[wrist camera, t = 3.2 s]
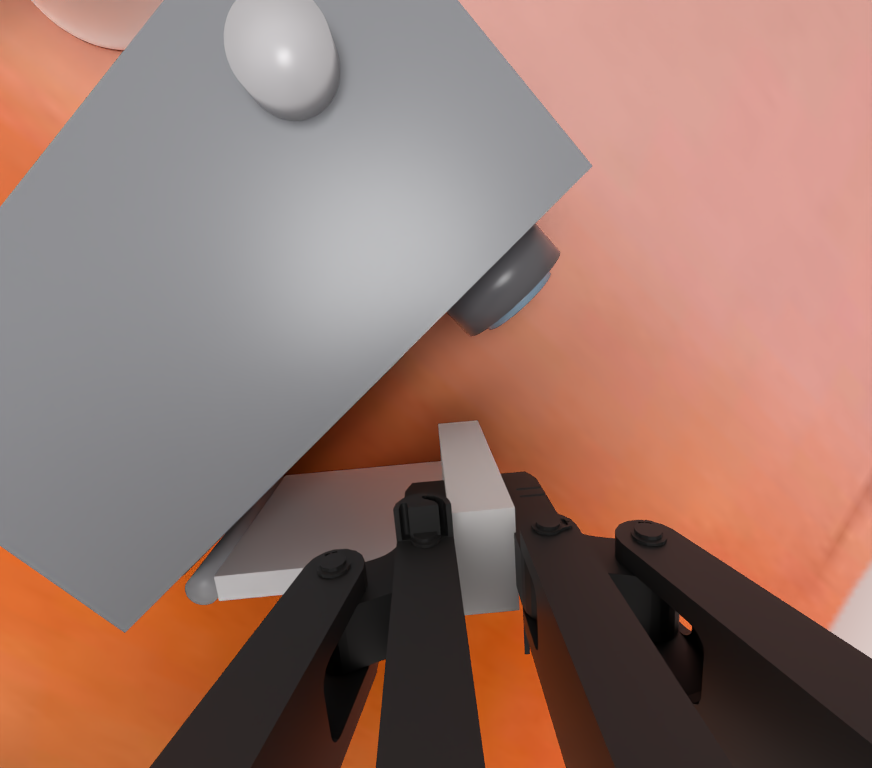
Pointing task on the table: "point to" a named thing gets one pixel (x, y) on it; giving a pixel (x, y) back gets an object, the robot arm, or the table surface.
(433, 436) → the table surface
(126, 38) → the mug
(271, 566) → the door
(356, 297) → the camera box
